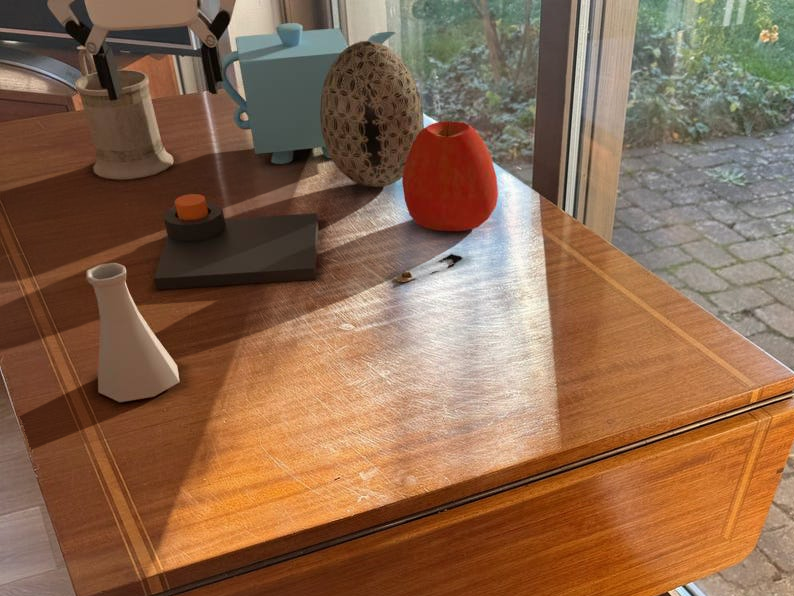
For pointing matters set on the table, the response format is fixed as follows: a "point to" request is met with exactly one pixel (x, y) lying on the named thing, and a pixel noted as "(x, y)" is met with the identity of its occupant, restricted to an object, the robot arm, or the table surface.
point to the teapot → (285, 86)
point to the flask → (127, 342)
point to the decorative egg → (370, 114)
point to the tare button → (191, 207)
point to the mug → (122, 125)
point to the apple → (449, 178)
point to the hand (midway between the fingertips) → (165, 93)
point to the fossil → (407, 274)
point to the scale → (237, 250)
